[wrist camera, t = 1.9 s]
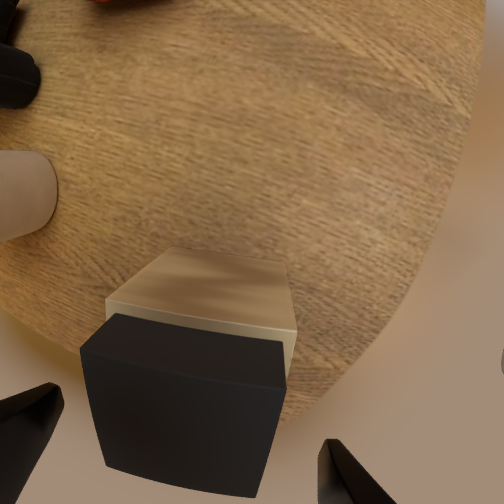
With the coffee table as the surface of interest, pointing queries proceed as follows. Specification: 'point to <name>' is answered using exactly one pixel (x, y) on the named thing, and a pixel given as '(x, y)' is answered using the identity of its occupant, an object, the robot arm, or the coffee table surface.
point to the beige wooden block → (212, 295)
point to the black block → (184, 403)
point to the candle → (25, 192)
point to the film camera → (15, 66)
